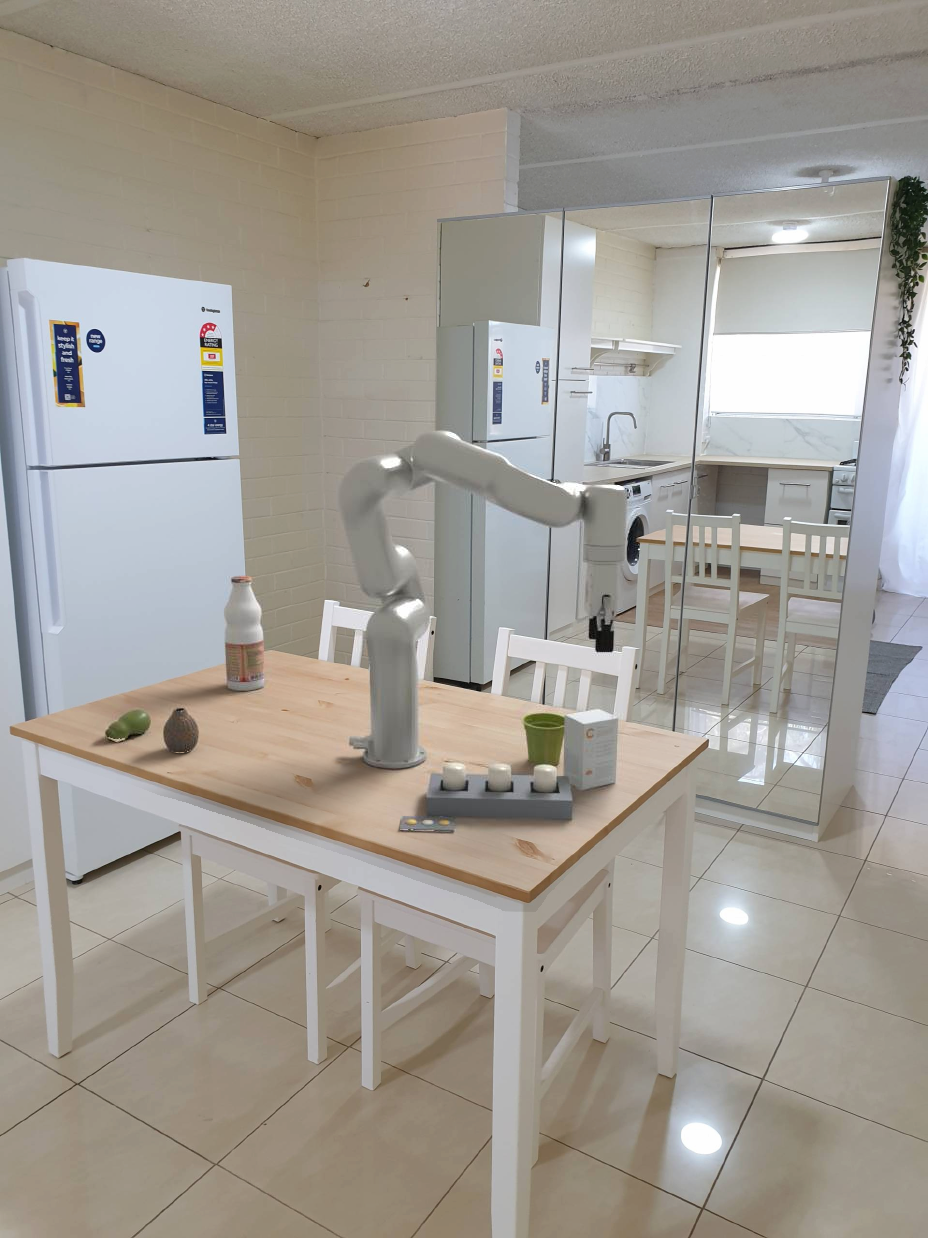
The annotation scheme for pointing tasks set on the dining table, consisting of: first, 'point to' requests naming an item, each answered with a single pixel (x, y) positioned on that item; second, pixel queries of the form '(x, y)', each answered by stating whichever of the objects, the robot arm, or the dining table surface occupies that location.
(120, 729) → the pear
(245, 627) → the fruit juice
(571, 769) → the small box
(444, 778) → the button left
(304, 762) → the dining table surface
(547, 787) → the button right
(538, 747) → the plant pot
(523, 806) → the board
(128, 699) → the dining table surface
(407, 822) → the pattern tile
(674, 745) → the dining table surface
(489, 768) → the button mid
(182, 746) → the vase
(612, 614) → the robot arm
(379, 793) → the dining table surface
